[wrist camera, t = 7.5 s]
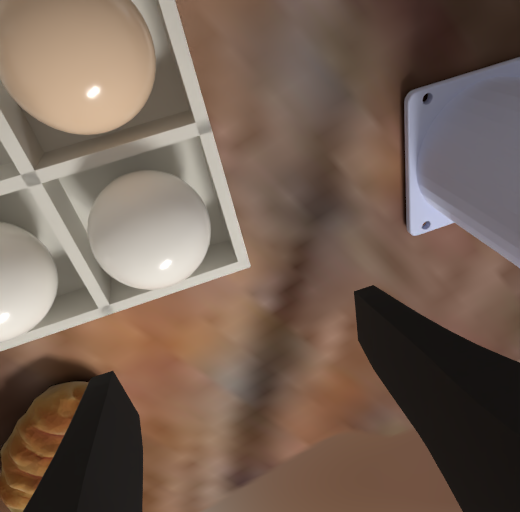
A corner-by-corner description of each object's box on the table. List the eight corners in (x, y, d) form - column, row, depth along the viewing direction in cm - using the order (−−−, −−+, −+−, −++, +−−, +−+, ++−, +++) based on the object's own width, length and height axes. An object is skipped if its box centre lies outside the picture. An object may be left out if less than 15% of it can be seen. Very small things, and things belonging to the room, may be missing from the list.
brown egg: (123, -47, 14) (122, -64, 10) (169, 97, 17) (183, 127, 13) (-21, -12, 14) (-80, -16, 10) (50, 131, 16) (26, 173, 12)
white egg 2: (183, 139, 18) (198, 180, 14) (214, 233, 21) (234, 289, 17) (72, 173, 17) (55, 225, 13) (118, 264, 20) (115, 330, 16)
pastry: (11, 368, 22) (-8, 429, 19) (141, 373, 25) (143, 427, 22) (2, 478, 26) (-14, 543, 23) (115, 472, 29) (113, 530, 26)
